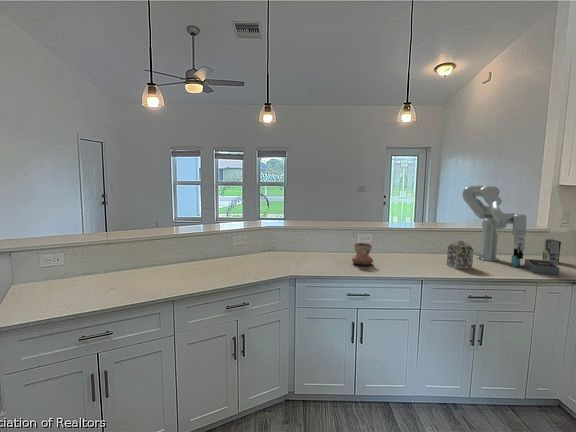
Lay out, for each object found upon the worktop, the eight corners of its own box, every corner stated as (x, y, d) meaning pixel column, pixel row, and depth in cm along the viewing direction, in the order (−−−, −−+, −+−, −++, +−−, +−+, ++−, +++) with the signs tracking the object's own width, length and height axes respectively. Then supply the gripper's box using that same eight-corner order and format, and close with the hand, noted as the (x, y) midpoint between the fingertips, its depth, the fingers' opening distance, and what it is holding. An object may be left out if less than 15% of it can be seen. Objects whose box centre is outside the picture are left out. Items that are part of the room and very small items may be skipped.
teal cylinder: (510, 266, 229) (511, 256, 228) (511, 264, 233) (512, 255, 232) (519, 267, 226) (520, 257, 225) (520, 265, 230) (520, 256, 229)
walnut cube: (539, 271, 215) (540, 263, 214) (536, 269, 219) (537, 261, 219) (548, 272, 213) (549, 264, 212) (546, 270, 217) (546, 262, 217)
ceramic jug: (374, 267, 226) (375, 247, 225) (353, 266, 228) (353, 246, 226) (370, 261, 244) (371, 242, 243) (350, 260, 245) (351, 241, 244)
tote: (558, 275, 209) (559, 267, 208) (531, 272, 214) (532, 265, 214) (548, 268, 225) (549, 260, 225) (524, 265, 231) (525, 258, 230)
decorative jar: (446, 264, 234) (447, 239, 232) (461, 264, 235) (463, 239, 233) (456, 269, 222) (458, 243, 220) (472, 269, 223) (474, 242, 221)
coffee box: (559, 264, 235) (561, 241, 233) (548, 263, 237) (551, 241, 235) (551, 260, 244) (554, 239, 242) (541, 260, 246) (544, 238, 244)
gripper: (529, 234, 217) (528, 260, 218) (522, 230, 232) (521, 255, 234) (515, 233, 219) (514, 259, 221) (509, 230, 235) (508, 254, 237)
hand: (518, 257), depth 227 cm, fingers open, 9 cm apart
